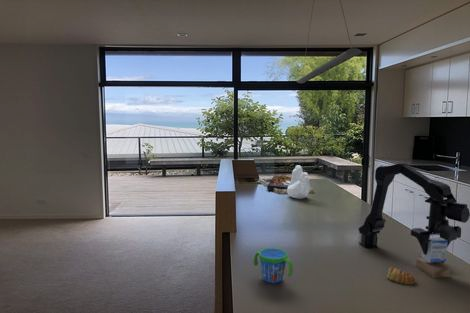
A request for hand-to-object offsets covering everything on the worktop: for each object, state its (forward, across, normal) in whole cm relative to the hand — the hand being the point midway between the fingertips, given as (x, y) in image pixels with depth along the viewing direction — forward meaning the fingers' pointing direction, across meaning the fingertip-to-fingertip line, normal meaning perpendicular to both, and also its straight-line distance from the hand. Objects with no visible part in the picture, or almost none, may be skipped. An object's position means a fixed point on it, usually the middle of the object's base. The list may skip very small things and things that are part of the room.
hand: (433, 253), depth 137 cm
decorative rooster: (+8, -4, +128) cm, 128 cm away
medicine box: (+3, 0, 0) cm, 3 cm away
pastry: (+8, -18, -4) cm, 20 cm away
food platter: (+8, +1, +172) cm, 172 cm away
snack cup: (+8, -66, +4) cm, 67 cm away
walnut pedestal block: (+8, 0, 0) cm, 8 cm away
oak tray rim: (+8, +1, +172) cm, 172 cm away
